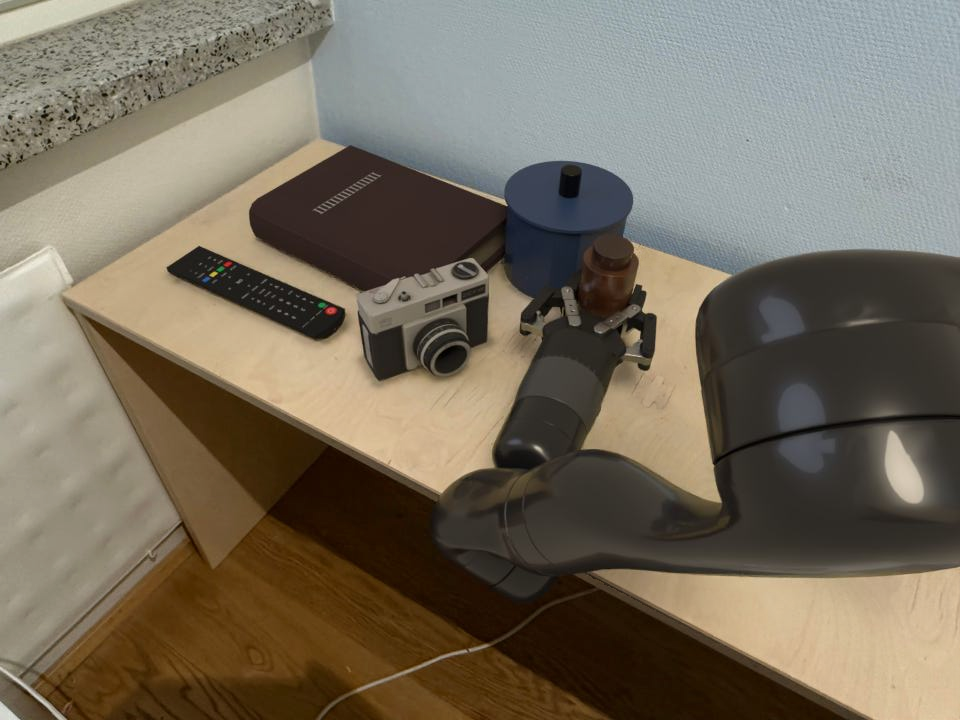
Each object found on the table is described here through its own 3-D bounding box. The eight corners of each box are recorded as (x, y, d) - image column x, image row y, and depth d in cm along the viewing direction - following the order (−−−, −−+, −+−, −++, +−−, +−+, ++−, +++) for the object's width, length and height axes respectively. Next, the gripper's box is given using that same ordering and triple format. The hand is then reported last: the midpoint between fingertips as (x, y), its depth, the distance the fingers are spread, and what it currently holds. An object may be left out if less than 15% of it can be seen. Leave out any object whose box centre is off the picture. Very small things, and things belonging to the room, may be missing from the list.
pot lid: (648, 188, 81) (655, 157, 78) (605, 253, 72) (612, 220, 69) (535, 157, 86) (538, 127, 83) (481, 215, 76) (482, 183, 73)
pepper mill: (625, 337, 77) (649, 239, 67) (609, 368, 73) (631, 269, 64) (580, 322, 79) (597, 224, 69) (562, 351, 75) (577, 252, 65)
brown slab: (255, 244, 88) (244, 205, 84) (355, 181, 99) (350, 144, 95) (422, 328, 77) (420, 289, 73) (513, 247, 89) (516, 209, 84)
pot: (628, 255, 88) (644, 184, 80) (590, 317, 79) (604, 245, 72) (531, 225, 92) (537, 156, 85) (485, 281, 84) (487, 209, 76)
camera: (381, 405, 69) (371, 332, 62) (360, 349, 75) (349, 277, 68) (505, 372, 73) (509, 299, 66) (476, 322, 79) (476, 250, 72)
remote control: (201, 254, 86) (198, 245, 85) (349, 319, 78) (348, 310, 77) (169, 276, 83) (166, 267, 82) (320, 346, 75) (318, 337, 74)
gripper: (648, 384, 57) (683, 272, 68) (492, 338, 61) (549, 238, 72) (632, 438, 63) (667, 326, 74) (489, 393, 66) (543, 292, 77)
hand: (609, 283), depth 73 cm, fingers closed on pepper mill, 5 cm apart
